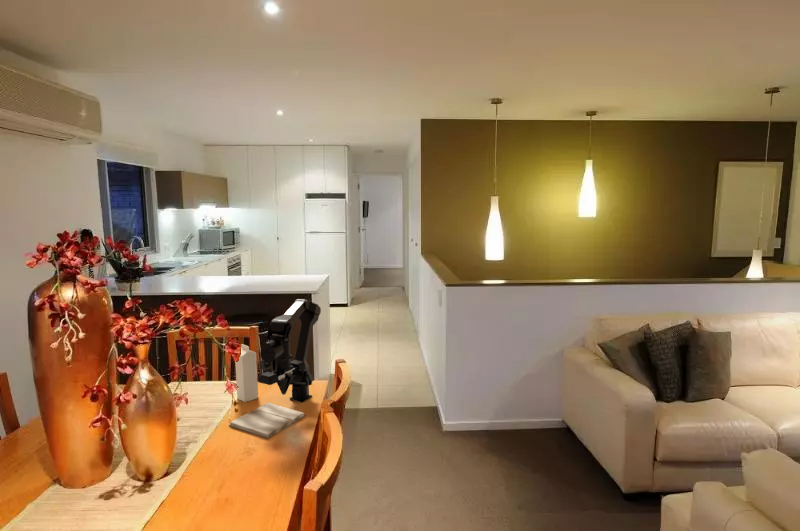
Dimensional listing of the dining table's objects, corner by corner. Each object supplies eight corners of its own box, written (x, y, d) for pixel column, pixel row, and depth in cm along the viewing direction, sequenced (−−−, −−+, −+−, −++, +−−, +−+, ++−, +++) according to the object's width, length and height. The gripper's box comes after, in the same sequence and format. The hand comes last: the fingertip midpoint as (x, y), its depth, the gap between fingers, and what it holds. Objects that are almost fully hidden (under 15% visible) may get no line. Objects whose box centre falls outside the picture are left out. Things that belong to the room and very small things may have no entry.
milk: (244, 402, 180) (241, 348, 177) (237, 398, 184) (233, 345, 181) (258, 397, 184) (255, 344, 181) (250, 393, 188) (248, 341, 185)
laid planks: (255, 412, 170) (255, 409, 170) (291, 423, 162) (291, 420, 161) (230, 425, 160) (230, 422, 160) (267, 437, 152) (267, 434, 152)
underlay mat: (268, 405, 177) (268, 404, 177) (305, 415, 168) (305, 415, 168) (228, 426, 161) (228, 425, 161) (267, 438, 152) (267, 438, 152)
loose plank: (267, 405, 176) (267, 402, 176) (303, 415, 167) (303, 412, 167) (255, 412, 171) (255, 409, 171) (292, 422, 162) (292, 419, 162)
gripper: (283, 343, 179) (285, 381, 181) (246, 357, 163) (248, 399, 165) (305, 347, 173) (307, 386, 175) (269, 362, 157) (271, 405, 159)
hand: (283, 394), depth 169 cm, fingers closed
